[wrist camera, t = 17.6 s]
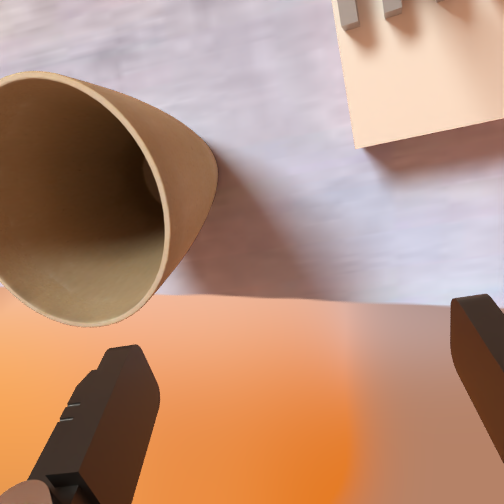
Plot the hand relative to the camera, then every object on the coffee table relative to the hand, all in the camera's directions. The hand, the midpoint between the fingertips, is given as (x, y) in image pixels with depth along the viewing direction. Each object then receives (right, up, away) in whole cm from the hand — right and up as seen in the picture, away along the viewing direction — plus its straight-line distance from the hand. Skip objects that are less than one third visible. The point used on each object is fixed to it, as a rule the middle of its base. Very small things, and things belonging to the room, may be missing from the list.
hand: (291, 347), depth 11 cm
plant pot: (-8, +10, +28) cm, 30 cm away
